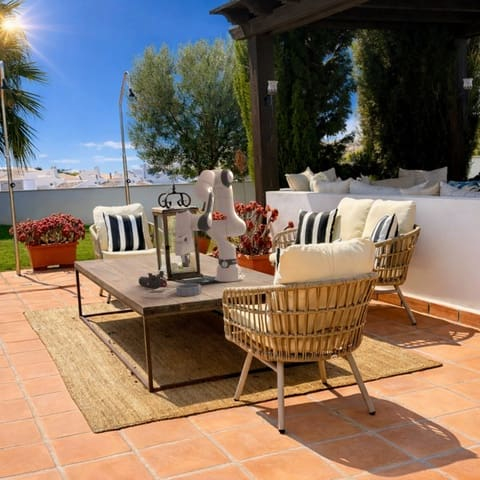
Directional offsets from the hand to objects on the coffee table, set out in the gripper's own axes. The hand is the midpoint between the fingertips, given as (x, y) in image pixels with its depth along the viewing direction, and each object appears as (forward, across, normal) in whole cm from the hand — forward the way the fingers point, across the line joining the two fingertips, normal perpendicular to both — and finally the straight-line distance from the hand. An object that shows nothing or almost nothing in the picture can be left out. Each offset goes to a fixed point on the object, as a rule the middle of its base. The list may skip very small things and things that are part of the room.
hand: (185, 261), depth 362 cm
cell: (+3, 0, 0) cm, 3 cm away
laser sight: (+20, -17, -30) cm, 40 cm away
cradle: (+19, +3, -15) cm, 24 cm away
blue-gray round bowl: (+19, 0, +1) cm, 19 cm away
